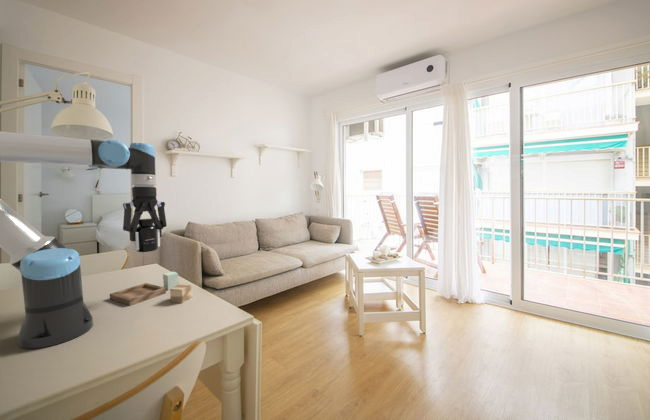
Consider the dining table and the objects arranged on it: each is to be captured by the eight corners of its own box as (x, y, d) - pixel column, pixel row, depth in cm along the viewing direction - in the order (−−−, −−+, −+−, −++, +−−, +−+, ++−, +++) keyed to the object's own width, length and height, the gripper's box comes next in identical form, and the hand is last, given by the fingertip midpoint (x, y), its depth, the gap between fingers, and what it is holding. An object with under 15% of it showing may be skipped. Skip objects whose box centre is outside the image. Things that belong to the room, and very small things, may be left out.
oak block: (182, 303, 98) (182, 289, 97) (170, 302, 99) (170, 288, 98) (192, 297, 103) (191, 284, 102) (180, 296, 104) (180, 283, 103)
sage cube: (168, 290, 110) (167, 275, 110) (163, 288, 113) (163, 273, 112) (178, 287, 113) (177, 273, 113) (174, 285, 116) (173, 271, 115)
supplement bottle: (149, 252, 99) (147, 219, 99) (131, 252, 100) (129, 220, 99) (162, 248, 106) (160, 217, 105) (145, 249, 107) (143, 218, 106)
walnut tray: (130, 305, 96) (129, 300, 96) (110, 299, 102) (109, 294, 102) (166, 292, 107) (165, 287, 107) (146, 287, 113) (145, 282, 113)
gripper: (118, 185, 91) (122, 254, 93) (176, 186, 108) (178, 244, 110) (107, 185, 95) (111, 251, 96) (164, 186, 112) (167, 242, 113)
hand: (146, 247), depth 103 cm, fingers closed on supplement bottle, 7 cm apart
